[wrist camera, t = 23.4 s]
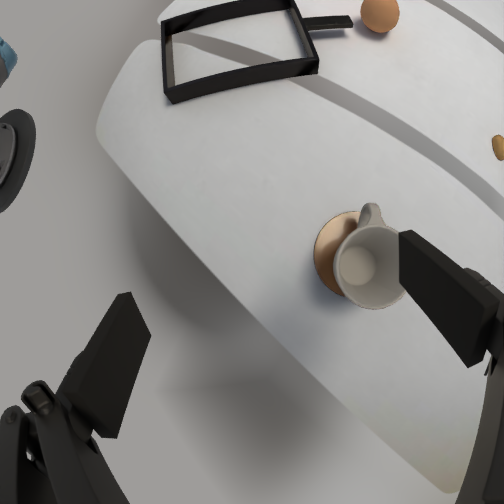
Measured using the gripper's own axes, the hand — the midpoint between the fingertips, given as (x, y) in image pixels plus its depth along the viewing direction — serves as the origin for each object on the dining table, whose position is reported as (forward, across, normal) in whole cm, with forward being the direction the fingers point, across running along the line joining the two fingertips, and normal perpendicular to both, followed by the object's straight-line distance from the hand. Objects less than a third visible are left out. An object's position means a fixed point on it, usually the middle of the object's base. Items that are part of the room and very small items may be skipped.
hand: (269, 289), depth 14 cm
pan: (+33, +6, +20) cm, 39 cm away
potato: (+22, +38, 0) cm, 43 cm away
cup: (+18, +10, -9) cm, 23 cm away
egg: (+32, +24, +20) cm, 45 cm away
